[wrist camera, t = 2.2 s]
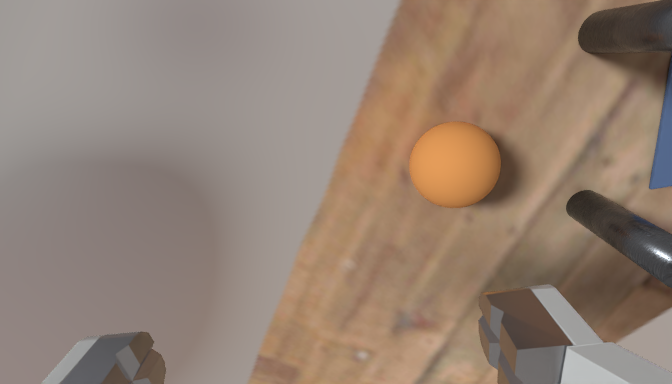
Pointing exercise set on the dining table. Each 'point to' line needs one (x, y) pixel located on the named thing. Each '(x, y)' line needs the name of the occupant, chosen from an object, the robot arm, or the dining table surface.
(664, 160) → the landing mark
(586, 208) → the far post
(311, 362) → the dining table surface
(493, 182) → the ball
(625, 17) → the near post
